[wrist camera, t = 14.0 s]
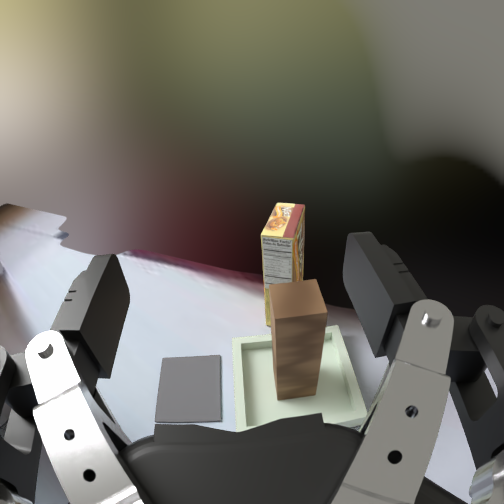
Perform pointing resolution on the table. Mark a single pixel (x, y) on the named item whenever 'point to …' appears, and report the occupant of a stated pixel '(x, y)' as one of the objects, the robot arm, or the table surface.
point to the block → (297, 337)
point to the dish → (269, 409)
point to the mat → (189, 390)
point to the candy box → (283, 248)
